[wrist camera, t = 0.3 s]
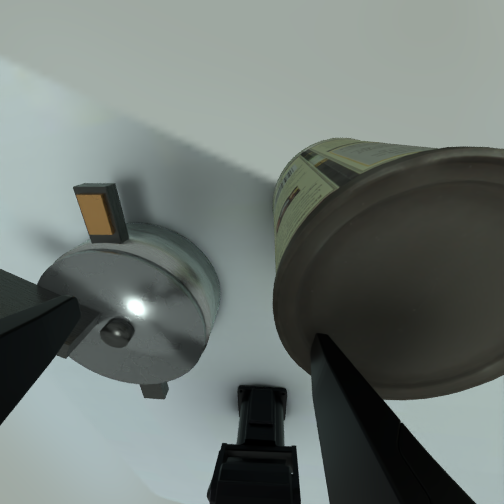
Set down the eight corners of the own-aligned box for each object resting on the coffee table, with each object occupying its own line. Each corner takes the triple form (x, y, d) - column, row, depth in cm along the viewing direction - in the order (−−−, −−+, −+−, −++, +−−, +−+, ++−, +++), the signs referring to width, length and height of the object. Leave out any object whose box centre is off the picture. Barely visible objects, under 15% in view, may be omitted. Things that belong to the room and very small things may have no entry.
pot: (227, 366, 31) (219, 405, 27) (115, 360, 32) (89, 397, 28) (209, 175, 21) (192, 187, 16) (44, 176, 22) (-14, 187, 17)
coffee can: (384, 254, 23) (522, 407, 10) (273, 256, 24) (274, 398, 11) (409, 131, 18) (714, 134, 6) (271, 140, 19) (268, 158, 7)
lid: (235, 301, 20) (225, 346, 16) (173, 395, 26) (154, 444, 22) (-13, 180, 17) (-104, 197, 13) (-17, 318, 23) (-80, 359, 19)
